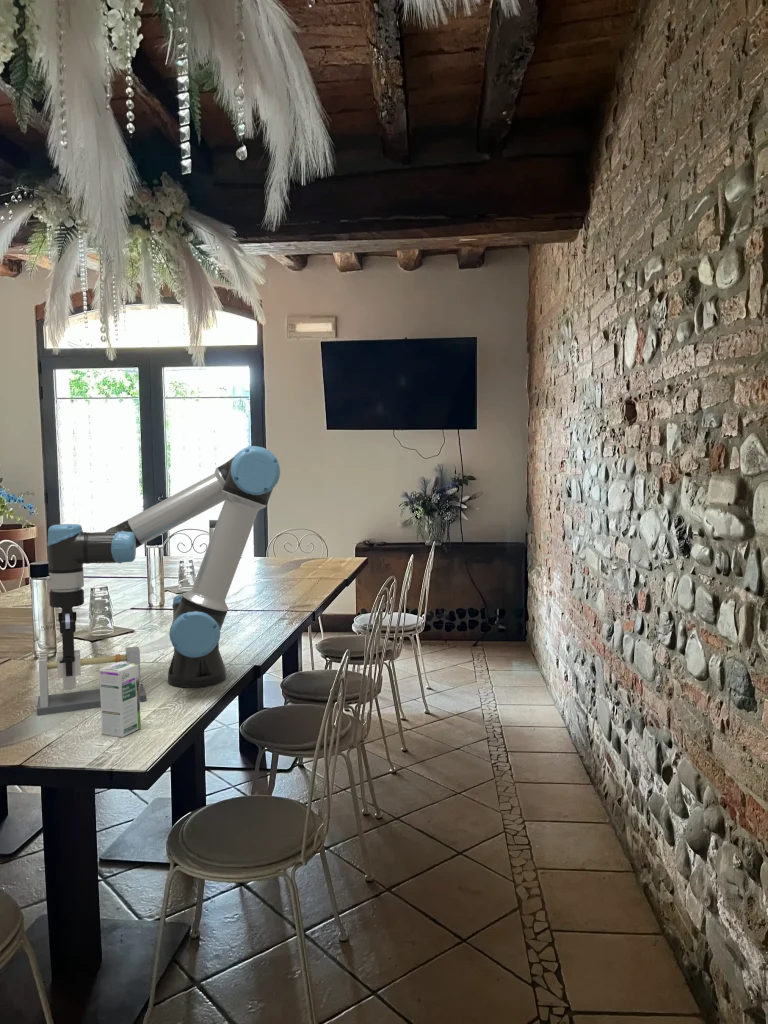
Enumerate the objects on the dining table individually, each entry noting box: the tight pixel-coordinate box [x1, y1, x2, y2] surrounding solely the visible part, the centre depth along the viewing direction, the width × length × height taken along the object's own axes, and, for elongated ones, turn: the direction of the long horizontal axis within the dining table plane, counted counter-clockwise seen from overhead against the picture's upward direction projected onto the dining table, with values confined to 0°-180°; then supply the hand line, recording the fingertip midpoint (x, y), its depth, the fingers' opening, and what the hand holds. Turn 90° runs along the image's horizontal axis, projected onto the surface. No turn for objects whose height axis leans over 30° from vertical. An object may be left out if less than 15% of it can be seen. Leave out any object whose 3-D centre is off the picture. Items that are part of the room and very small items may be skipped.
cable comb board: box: [36, 646, 147, 716], centre depth 172 cm, size 24×10×12 cm, turn 114°
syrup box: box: [98, 661, 142, 738], centre depth 152 cm, size 6×6×14 cm
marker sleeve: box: [56, 649, 82, 679], centre depth 170 cm, size 5×5×5 cm
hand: (69, 685), depth 170 cm, fingers closed on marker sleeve, 5 cm apart
